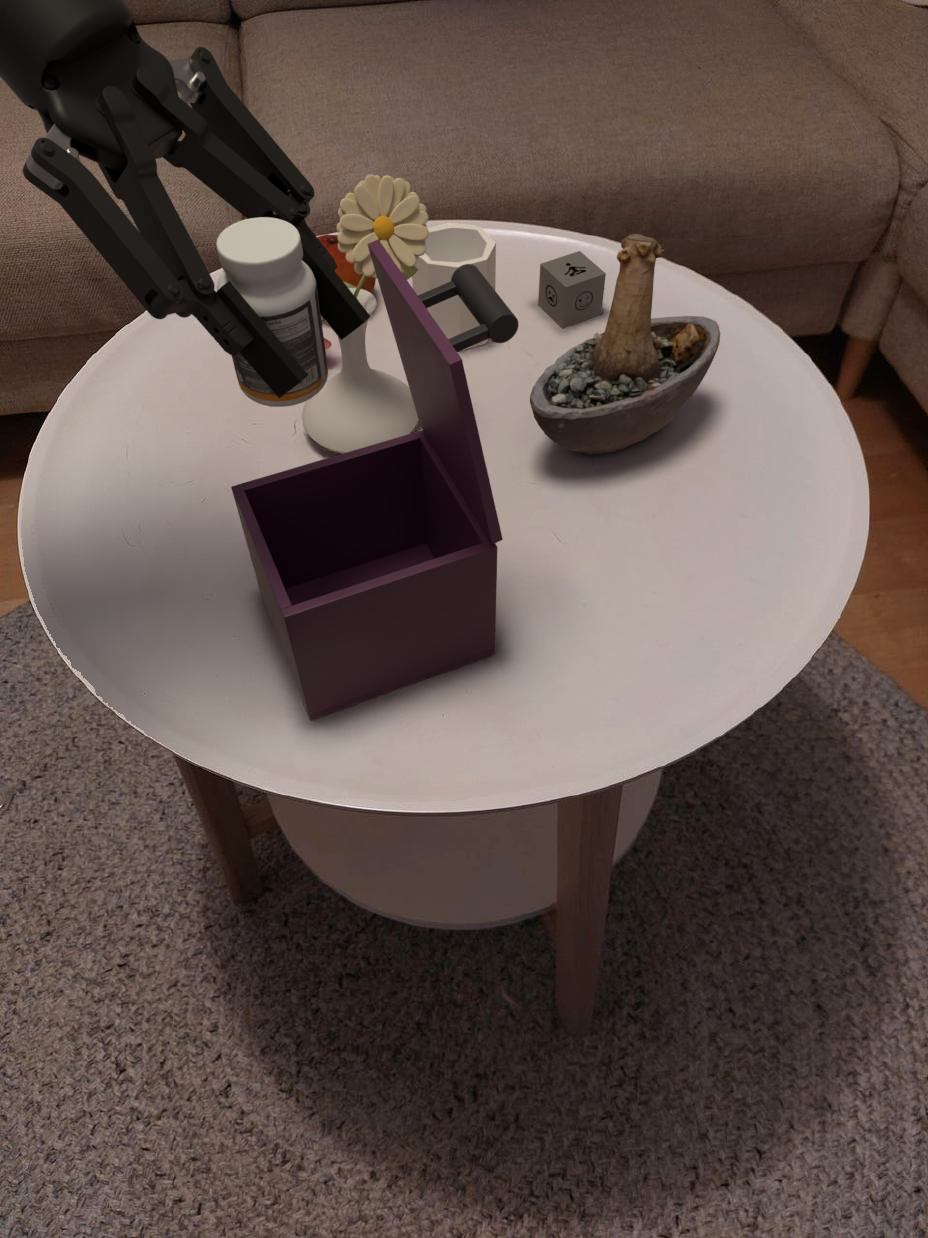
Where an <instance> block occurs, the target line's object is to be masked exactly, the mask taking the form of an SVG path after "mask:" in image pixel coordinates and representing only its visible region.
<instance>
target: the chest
mask: <svg viewBox="0 0 928 1238" xmlns="http://www.w3.org/2000/svg"><path fill="white" fill-rule="evenodd" d="M230 488H231V491H232V495H233V500H234V503H235V506H236V510H237V513H238V517H239V521H240V524H241V527H242V531H243V535H244V539H245V542H246V546H247V549H248V553H249V557H250V561H251V564H252V567H253V572H254V574H255V578H256V582H257V585H258V589H259V593H260V596H261V598H262V601H263V604H264V607H265V609H266V612H267V614H268V616H269V619H270V622H271V624H272V627H273V629H274V631H275V634H276V637H277V639H278V642H279V644H280V647H281V649H282V652H283V655H284V657H285V660H286V663H287V665H288V667H289V670H290V672H291V675H292V677H293V680H294V682H295V686H296V688H297V690H298V693H299V695H300V698H301V700H302V703H303V705H304V708H305V710H306V714H307V716H308V718H309V720H310V721H314V720H315V719H319V718H322V717H324V716H327V715H329V714H332V713H336V712H338V711H340V710H344V709H346V708H349V707H351V706H354V705H357V704H360V703H363V702H365V701H368V700H371V699H374V698H377V697H380V696H383V695H385V694H388V693H390V692H394V691H396V690H398V689H402V688H404V687H407V686H410V685H413V684H415V683H418V682H421V681H424V680H427V679H429V678H432V677H435V676H438V675H440V674H443V673H446V672H449V671H452V670H455V669H457V668H460V667H464V666H465V665H468V664H472V663H474V662H477V661H480V660H482V659H485V658H489V657H490V656H493V655H495V654H496V636H497V590H498V589H497V587H498V586H497V585H498V584H497V582H498V545H497V544H496V543H495V544H492V542H491V541H490V539H489V537H488V536H487V534H486V533H485V531H484V529H483V528H482V526H481V524H480V523H479V521H478V519H477V518H476V516H475V515H474V513H473V511H472V510H471V508H470V506H469V505H468V503H467V501H466V500H465V498H464V497H463V495H462V493H461V492H460V490H459V488H458V487H457V485H456V483H455V482H454V480H453V479H452V477H451V475H450V474H449V472H448V470H447V469H446V467H445V465H444V464H443V462H442V461H441V459H440V457H439V456H438V454H437V452H436V451H435V449H434V447H433V446H432V444H431V443H430V441H429V439H428V438H427V436H426V434H425V433H424V431H423V429H421V430H418V431H415V432H411V433H410V434H408V435H405V436H401V437H398V438H394V439H391V440H388V441H384V442H381V443H377V444H374V445H371V446H367V447H364V448H360V449H357V450H354V451H350V452H347V453H343V454H342V453H339V454H337V455H333V456H330V457H326V458H324V459H320V460H317V461H313V462H310V463H306V464H303V465H299V466H296V467H293V468H289V469H286V470H282V471H279V472H276V473H273V474H272V473H271V474H268V475H266V476H262V477H259V478H255V479H252V480H249V481H245V482H242V483H239V484H235V485H232V486H231V487H230Z"/></svg>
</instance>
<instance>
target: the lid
mask: <svg viewBox="0 0 928 1238" xmlns="http://www.w3.org/2000/svg"><path fill="white" fill-rule="evenodd" d="M368 248H369V252H370V255H371V258H372V262H373V265H374V269H375V272H376V275H377V278H376V280H377V282H378V285H379V289H380V292H381V296H382V299H383V303H384V306H385V310H386V312H387V316H388V320H389V323H390V326H391V329H392V333H393V336H394V340H395V344H396V347H397V350H398V354H399V358H400V360H401V364H402V367H403V371H404V374H405V377H406V381H407V386H408V387H409V388H410V392H411V395H412V399H413V402H414V405H415V409H416V412H417V416H418V423H419V427H420V428H421V430H423V431H424V433H425V434H426V436H427V438H428V439H429V441H430V443H431V444H432V446H433V447H434V449H435V451H436V452H437V454H438V456H439V457H440V459H441V461H442V462H443V464H444V465H445V467H446V469H447V470H448V472H449V474H450V475H451V477H452V479H453V480H454V482H455V483H456V485H457V487H458V488H459V490H460V492H461V493H462V495H463V497H464V498H465V500H466V501H467V503H468V505H469V506H470V508H471V510H472V511H473V513H474V515H475V516H476V518H477V519H478V521H479V523H480V524H481V526H482V528H483V529H484V531H485V533H486V534H487V536H488V537H489V539H490V541H491V542H492V544H496V543H497V544H498V543H499V542H501V541H503V534H502V531H501V530H502V529H501V525H500V521H499V516H498V512H497V507H496V503H495V499H494V495H493V491H492V487H491V482H490V477H489V472H488V468H487V462H486V459H485V455H484V454H485V453H484V451H483V450H484V449H483V446H482V442H481V438H480V433H479V432H480V431H479V427H478V424H477V419H476V415H475V409H474V406H473V402H472V398H471V394H470V393H471V392H470V389H469V384H468V381H467V376H466V372H465V371H466V370H465V367H464V363H463V358H462V357H461V356H460V354H459V352H462V351H461V350H463V351H465V350H464V349H466V348H468V347H470V346H473V345H475V344H477V343H480V342H482V341H484V340H486V339H488V340H489V339H490V340H491V341H492V342H493V343H495V344H504V343H507V342H508V341H510V340H511V339H513V337H514V336H515V335H516V333H517V332H518V329H519V319H518V318H517V317H516V315H515V314H514V312H513V311H512V310H511V309H510V307H508V305H507V304H506V302H505V301H504V300H503V298H502V297H501V296H500V295H499V294H498V293H497V291H496V289H495V290H494V289H493V287H492V286H491V285H490V284H489V282H488V281H487V280H486V278H485V277H484V276H483V275H482V273H481V272H480V271H479V270H478V268H477V267H476V266H474V265H472V264H465V265H462V266H460V267H459V268H457V269H456V270H455V272H454V273H453V275H452V278H451V281H450V282H448V283H446V284H443V285H441V286H439V287H436V288H434V289H432V290H429V291H427V292H425V293H422V294H420V295H417V294H416V293H415V291H414V290H413V286H412V285H411V284H410V283H409V281H408V280H406V278H405V277H404V275H403V274H402V272H401V271H400V270H399V268H398V267H397V265H396V264H395V262H394V261H393V260H392V258H391V257H390V255H389V254H388V252H387V251H386V250H385V248H384V247H383V245H382V244H381V242H380V241H379V240H376V241H373V242H371V243H368ZM456 295H458V296H459V297H460V299H461V300H462V301H463V303H464V304H465V305H466V307H467V308H468V310H469V311H470V312H471V314H472V315H473V316H474V318H475V319H476V320H477V322H478V323H479V324H480V325H479V326H477V327H475V328H473V329H470V330H468V331H466V332H463V333H461V334H459V335H456V336H454V337H452V338H450V339H447V337H446V336H445V334H444V333H443V331H442V330H441V328H440V327H439V326H438V324H437V323H436V321H435V320H434V318H433V317H432V316H431V314H430V313H429V311H428V310H427V308H428V307H431V306H433V305H435V304H438V303H440V302H442V301H445V300H447V299H449V298H452V297H454V296H456ZM466 350H467V349H466Z"/></svg>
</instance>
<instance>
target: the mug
mask: <svg viewBox="0 0 928 1238" xmlns="http://www.w3.org/2000/svg"><path fill="white" fill-rule="evenodd" d="M427 229H428V230H429V236H428V238H427V239H425V248H426V251H425V253H424V255H422V256H418V259H417V260H416V264H415V267H416V268H417V269H418V271H417V272H416V273H415V274H414V275H413V276H412V277H411V280H412V288H413V290H414V291H415V293H416V294H417V295H420V294H422V293H425V292H427V291H429V290H432V289H434V288H436V287H439V286H441V285H443V284H446V283H448V282H450V281H451V278H452V275H453V273H454V272H455V270H456V269H457V268H459V267H460V266H462V265H465V264H472V265H474V266H476V267H477V268H478V270H479V271H480V272H481V273H482V275H483V276H484V277H485V278H486V280H487V281H488V282H489V284H490V285H491V286H492V287H493V289H494V290H495V291H496V273H497V272H496V267H497V266H496V264H497V261H496V260H497V242H496V241H495V240H494V239H493V238H492V237H491V236H490V235H489V234H488V233H487V231H486V230H484V229H483V228H482V227H481V226H480V225H474V224H468V223H467V224H466V223H460V222H454V221H450V222H447V223H442V224H439V225H435V226H431V227H428V228H427ZM427 310H428V311H429V313H430V314H431V316H432V317H433V318H434V320H435V321H436V323H437V324H438V326H439V327H440V328H441V330H442V331H443V333H444V334H445V336H446V337H447V339H450V338H452V337H454V336H456V335H459V334H461V333H463V332H466V331H468V330H470V329H473V328H475V327H477V326H479V325H480V324H479V323H478V322H477V320H476V319H475V318H474V316H473V315H472V314H471V312H470V311H469V310H468V308H467V307H466V305H465V304H464V303H463V301H462V300H461V299H460V297H459V296H458V295H456V296H454V297H452V298H449V299H447V300H445V301H442V302H440V303H438V304H435V305H433V306H431V307H428V308H427ZM488 341H489V339H486V340H484V341H482V342H480V343H477V344H475V345H473V346H470V347H468V348H466V349H464V350H461V351H460V352H463V351H466V350H470V349H473V348H476V347H479V346H484V345H485V344H488V343H489V342H488Z"/></svg>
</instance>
